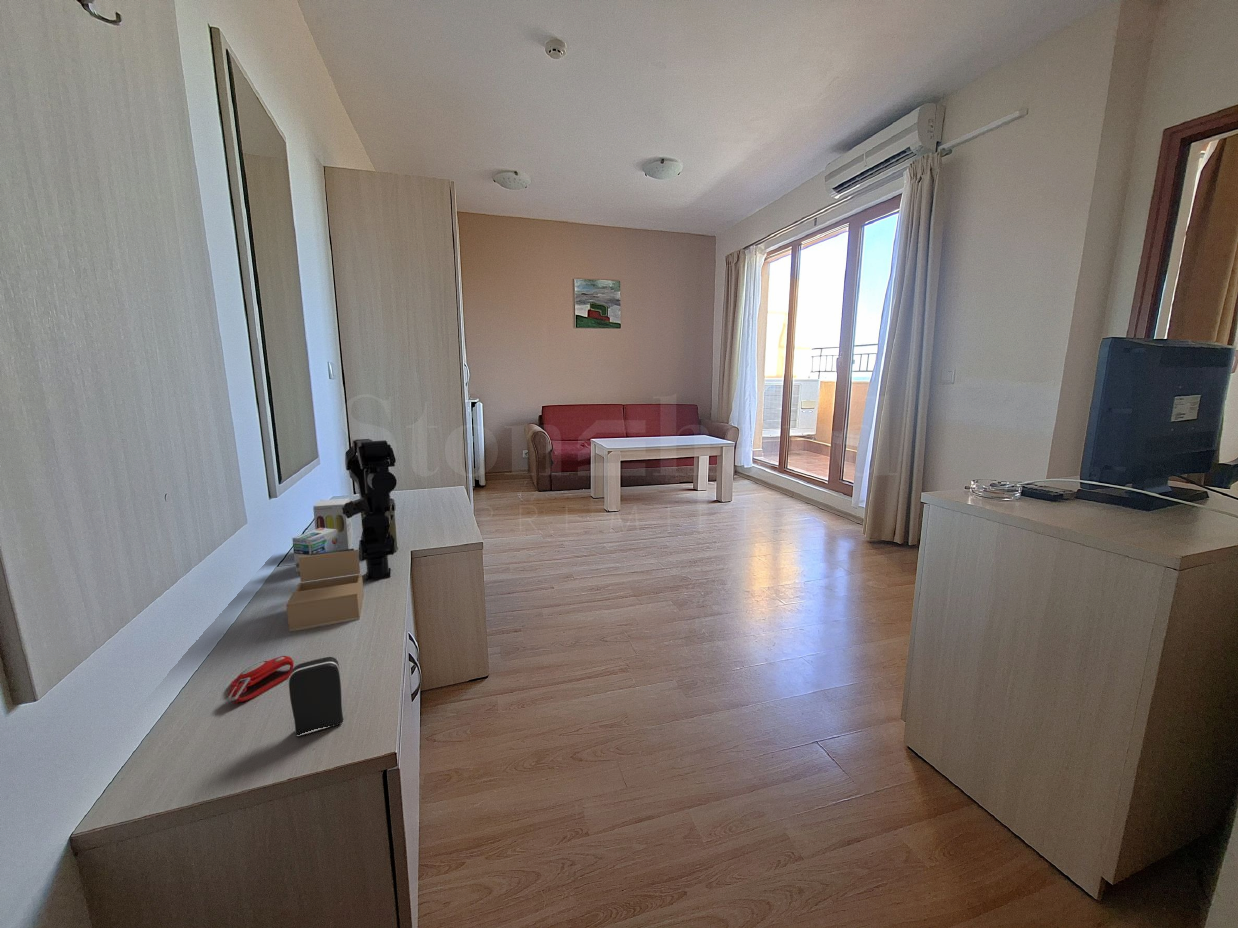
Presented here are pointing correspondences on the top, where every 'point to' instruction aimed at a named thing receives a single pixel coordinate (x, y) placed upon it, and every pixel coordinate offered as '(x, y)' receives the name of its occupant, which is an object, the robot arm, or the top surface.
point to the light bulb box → (315, 543)
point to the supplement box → (334, 520)
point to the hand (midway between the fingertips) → (382, 543)
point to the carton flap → (329, 564)
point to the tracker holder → (258, 678)
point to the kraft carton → (325, 602)
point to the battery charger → (316, 694)
